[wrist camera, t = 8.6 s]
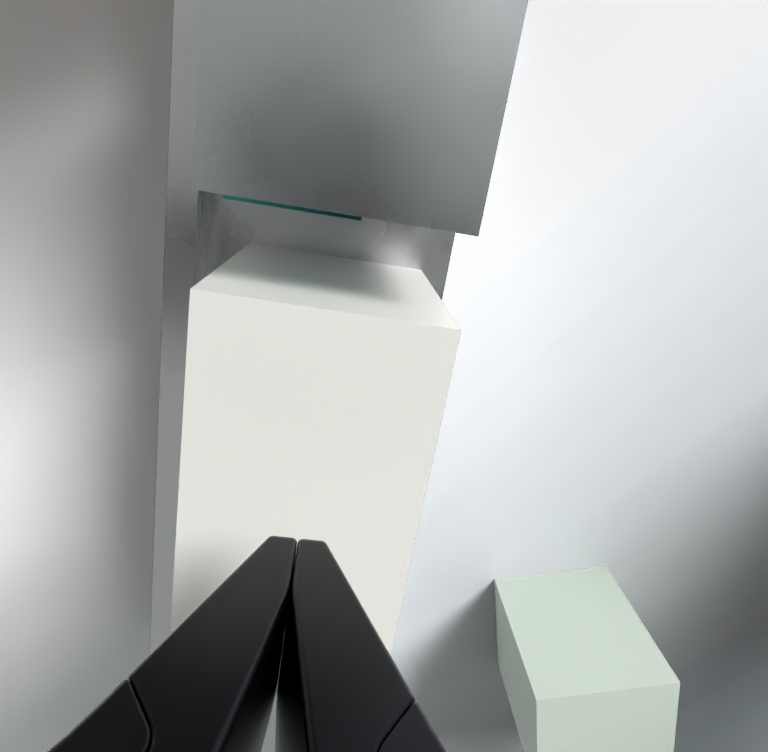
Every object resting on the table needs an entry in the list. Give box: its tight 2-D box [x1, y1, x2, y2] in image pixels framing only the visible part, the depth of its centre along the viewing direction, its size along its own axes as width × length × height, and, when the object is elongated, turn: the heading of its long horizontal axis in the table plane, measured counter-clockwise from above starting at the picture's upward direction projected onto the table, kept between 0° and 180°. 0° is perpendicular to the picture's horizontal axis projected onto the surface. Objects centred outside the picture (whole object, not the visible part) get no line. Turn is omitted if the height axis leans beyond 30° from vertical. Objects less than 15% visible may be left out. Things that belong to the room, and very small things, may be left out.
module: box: [170, 243, 461, 651], centre depth 14 cm, size 4×7×6 cm, turn 171°
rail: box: [150, 0, 528, 752], centre depth 14 cm, size 7×21×7 cm, turn 171°
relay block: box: [494, 566, 680, 752], centre depth 19 cm, size 4×4×5 cm
